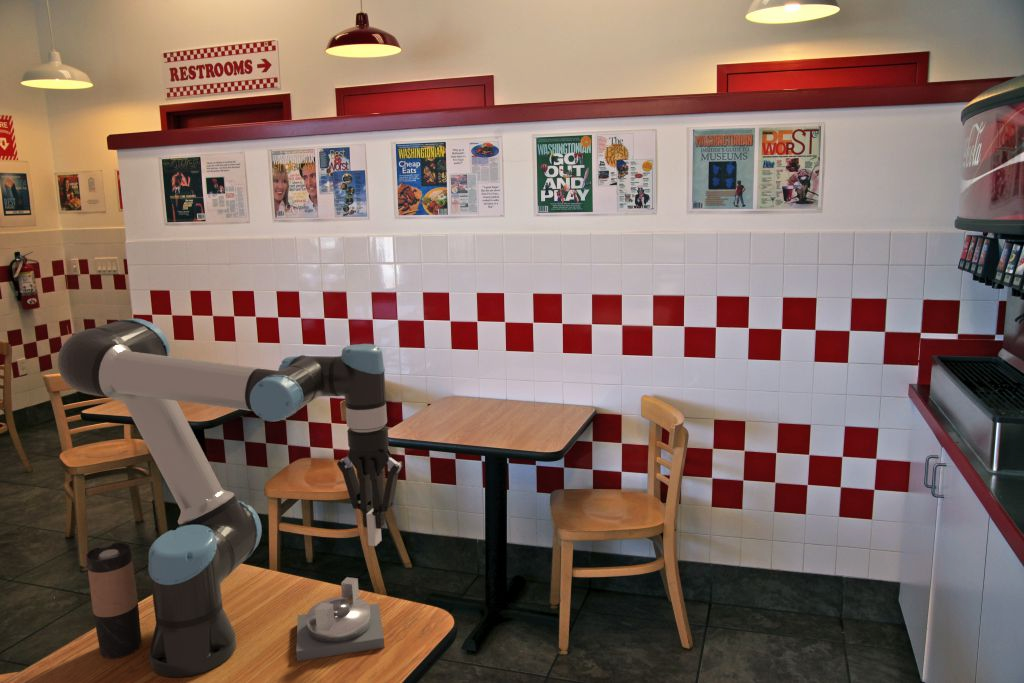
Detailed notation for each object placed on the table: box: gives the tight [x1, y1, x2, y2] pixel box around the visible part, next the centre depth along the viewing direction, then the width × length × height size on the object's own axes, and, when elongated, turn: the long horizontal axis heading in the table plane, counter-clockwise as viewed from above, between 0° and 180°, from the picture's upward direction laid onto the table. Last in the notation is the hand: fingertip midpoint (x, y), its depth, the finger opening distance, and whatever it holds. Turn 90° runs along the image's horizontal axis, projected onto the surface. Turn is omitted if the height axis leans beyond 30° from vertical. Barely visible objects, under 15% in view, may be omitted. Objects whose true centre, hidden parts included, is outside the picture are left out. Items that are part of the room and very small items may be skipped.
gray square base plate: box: [295, 603, 385, 662], centre depth 153 cm, size 16×13×3 cm
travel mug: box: [85, 542, 142, 659], centre depth 149 cm, size 8×8×20 cm
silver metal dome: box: [306, 576, 371, 642], centre depth 153 cm, size 12×12×7 cm
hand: (375, 542), depth 153 cm, fingers closed
